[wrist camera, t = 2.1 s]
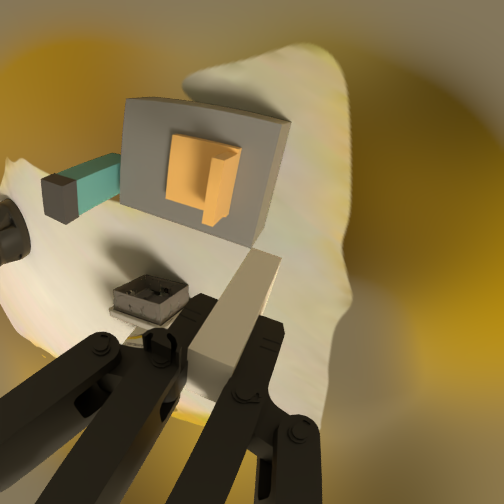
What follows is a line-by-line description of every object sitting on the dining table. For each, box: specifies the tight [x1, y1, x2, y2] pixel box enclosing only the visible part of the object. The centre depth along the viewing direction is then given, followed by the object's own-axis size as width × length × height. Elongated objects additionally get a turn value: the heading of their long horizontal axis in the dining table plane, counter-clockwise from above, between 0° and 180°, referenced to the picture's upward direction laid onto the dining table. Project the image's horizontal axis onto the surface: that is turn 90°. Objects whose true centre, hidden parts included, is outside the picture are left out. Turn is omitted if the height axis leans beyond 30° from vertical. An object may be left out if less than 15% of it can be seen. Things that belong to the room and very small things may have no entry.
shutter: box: [166, 134, 242, 227], centre depth 23 cm, size 6×6×4 cm
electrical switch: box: [109, 275, 189, 330], centre depth 37 cm, size 9×5×9 cm, turn 88°
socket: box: [120, 97, 291, 248], centre depth 27 cm, size 16×12×5 cm
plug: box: [41, 153, 121, 225], centre depth 28 cm, size 4×4×12 cm
